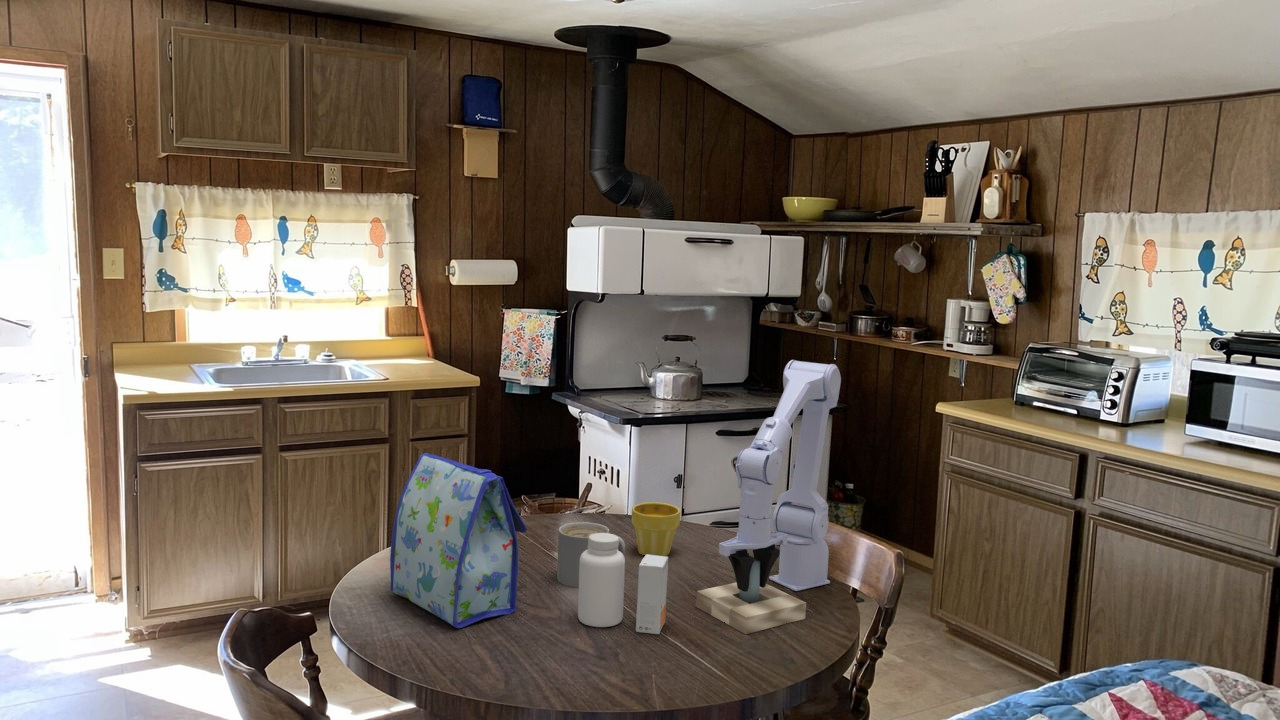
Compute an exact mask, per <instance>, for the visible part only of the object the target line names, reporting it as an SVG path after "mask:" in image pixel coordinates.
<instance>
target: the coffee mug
mask: <svg viewBox="0 0 1280 720" xmlns="http://www.w3.org/2000/svg"><path fill="white" fill-rule="evenodd" d="M557 531H558V532H557V533H558V534H557V535H558V536H557V537H558V538H557V539H558V540H557V566H556V567H557V570H556V571H557V572H556V573H557V574H556V575H557V576H556V579H557V582H558V583H559V584H561V585H563V586H566V587H570V588H577V589H579V565H580V557H581V555H582V553H583V552H584V551H586V550H588V538H589V536H590V535H592V534H595V533H609V534H610V528H609V527H608V526H606V525H603V524H601V523H596V522H588V521H581V522H580V521H578V522H577V521H576V522H570V523H569V522H568V523H565V524H562V525H561V526H560V527H559V528H558V530H557ZM618 538H619V546H618V549H617V550H618V551H620V552H621V553H622V554H623V556H624V557H625V555H626V544H625V541H624V540H623V538H621V537H620V536H618Z"/></svg>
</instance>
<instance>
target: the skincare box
mask: <svg viewBox="0 0 1280 720" xmlns="http://www.w3.org/2000/svg"><path fill="white" fill-rule="evenodd" d="M668 569H669V556H656V555H648V554H646V555H645V556H644V557H643V558H642V559H641V562H640V563H639V565H638V575H637V576H638V579H637V599H636V600H637V601H636V602H637V603H636V616H635V617H636V618H635V619H636V621H635V632H637V633H643V634H652V635H660V633H661V631H662V628H663V626H664V625H665V622H666V613H667V612H666V611H667V609H666V608H667V590H668V589H667V587H668V571H669V570H668Z"/></svg>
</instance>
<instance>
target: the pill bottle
mask: <svg viewBox="0 0 1280 720" xmlns="http://www.w3.org/2000/svg"><path fill="white" fill-rule="evenodd" d="M618 537H619V535H616V534H614V533H613V534H612V533H610V532H609V533H595V534H592V535H590V536H589V538H588V550H586V551H584V552H583V553H582V555H581V557H580V565H579V588H578V597H577V600H578V601H577V603H578V604H577V618H578V620H579V622H581V624H584V625H586V626H589V627H595V628H608V627H614V626H616V625H619V624H620V623H621V622H622V621H623V616H624V601H625V600H624V599H625V597H624V595H625V570H626V559H625V556H623V554H622V553H621V552H620V551H619V550H618V546H619V538H618Z"/></svg>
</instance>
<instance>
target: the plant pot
mask: <svg viewBox="0 0 1280 720" xmlns="http://www.w3.org/2000/svg"><path fill="white" fill-rule="evenodd" d="M680 522H681V509H680V508H679V507H677V506H676V505H674V504H670V503H665V502H656V501H654V502H653V501H652V502H651V501H650V502H641V503H638V504H635V505H633V506H632V509H631V524H632V525H633V526H634V531H635V538H636V543H637V551H638V553H639V554H640V555H641V554H642V555H641V556H643V555H646V554H648V555H656V556H665V557H668V555H670V552H671V549H672V548H671V547H672V545H673V541H674V538H675V533H676V530H677V529H678V527H680Z"/></svg>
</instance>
